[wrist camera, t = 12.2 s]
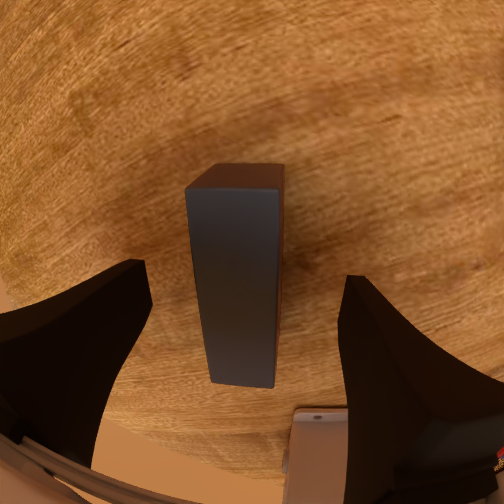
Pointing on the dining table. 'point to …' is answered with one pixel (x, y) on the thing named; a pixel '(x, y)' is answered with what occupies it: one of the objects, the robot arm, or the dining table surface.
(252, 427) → the dining table surface
